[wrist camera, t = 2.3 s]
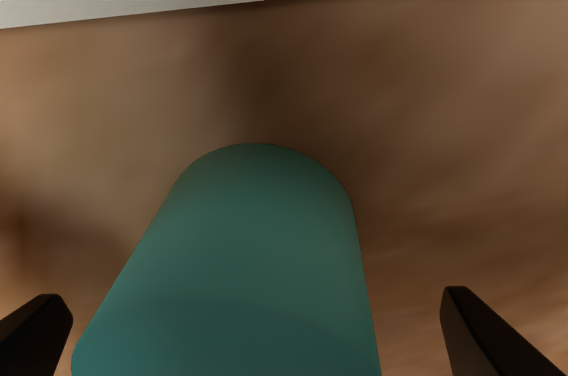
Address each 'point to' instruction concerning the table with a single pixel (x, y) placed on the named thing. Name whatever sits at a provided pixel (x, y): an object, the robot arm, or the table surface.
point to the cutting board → (88, 9)
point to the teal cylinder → (240, 278)
